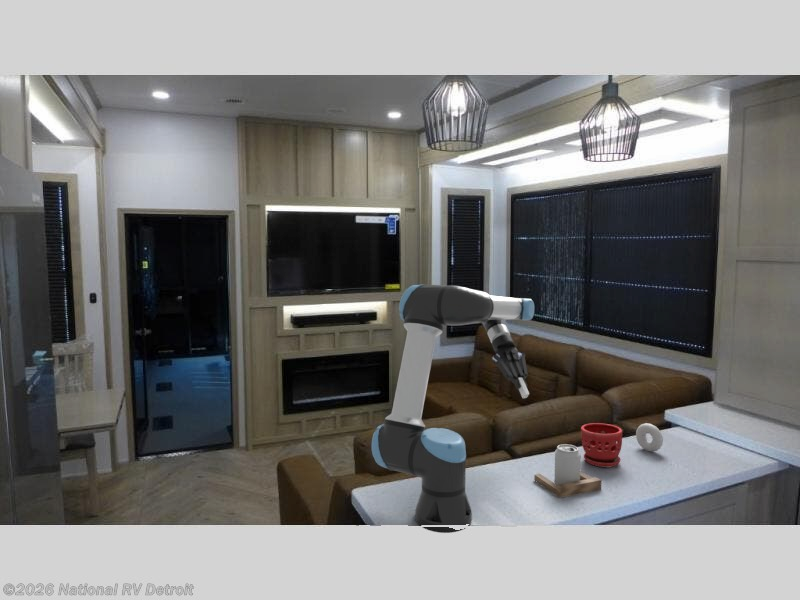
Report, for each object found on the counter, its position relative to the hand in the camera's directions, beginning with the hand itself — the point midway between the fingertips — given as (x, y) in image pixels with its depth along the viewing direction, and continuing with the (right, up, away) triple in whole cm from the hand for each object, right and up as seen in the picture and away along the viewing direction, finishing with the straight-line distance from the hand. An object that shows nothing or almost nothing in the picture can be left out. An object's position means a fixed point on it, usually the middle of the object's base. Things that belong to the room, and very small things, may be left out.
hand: (526, 396), depth 177 cm
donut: (+47, -22, +12) cm, 53 cm away
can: (+9, -25, -16) cm, 31 cm away
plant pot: (+26, -23, +2) cm, 35 cm away
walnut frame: (+9, -24, -15) cm, 30 cm away
